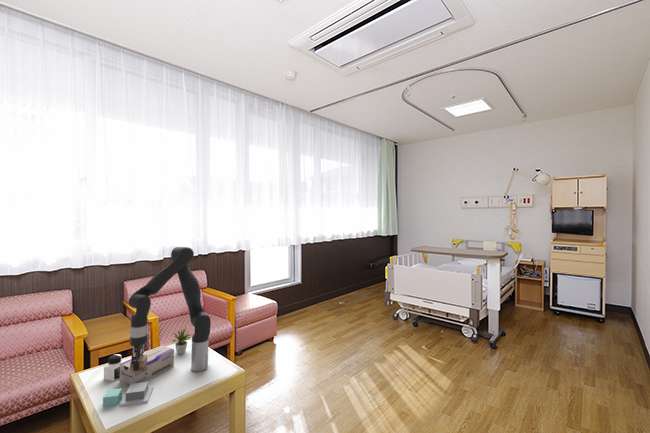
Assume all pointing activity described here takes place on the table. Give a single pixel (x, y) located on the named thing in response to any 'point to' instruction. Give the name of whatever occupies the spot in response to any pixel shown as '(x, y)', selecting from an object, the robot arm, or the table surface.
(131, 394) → the plate
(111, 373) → the medicine bottle
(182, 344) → the house plant
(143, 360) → the walnut block
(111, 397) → the teal block
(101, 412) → the table surface
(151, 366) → the surgical sutures box
